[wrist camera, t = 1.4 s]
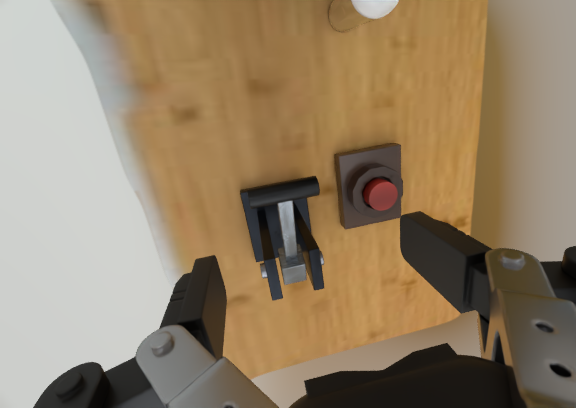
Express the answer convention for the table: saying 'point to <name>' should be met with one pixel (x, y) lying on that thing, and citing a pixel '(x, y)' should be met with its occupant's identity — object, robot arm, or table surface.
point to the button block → (358, 173)
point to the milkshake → (357, 12)
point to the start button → (380, 194)
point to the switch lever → (286, 220)
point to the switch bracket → (269, 240)
